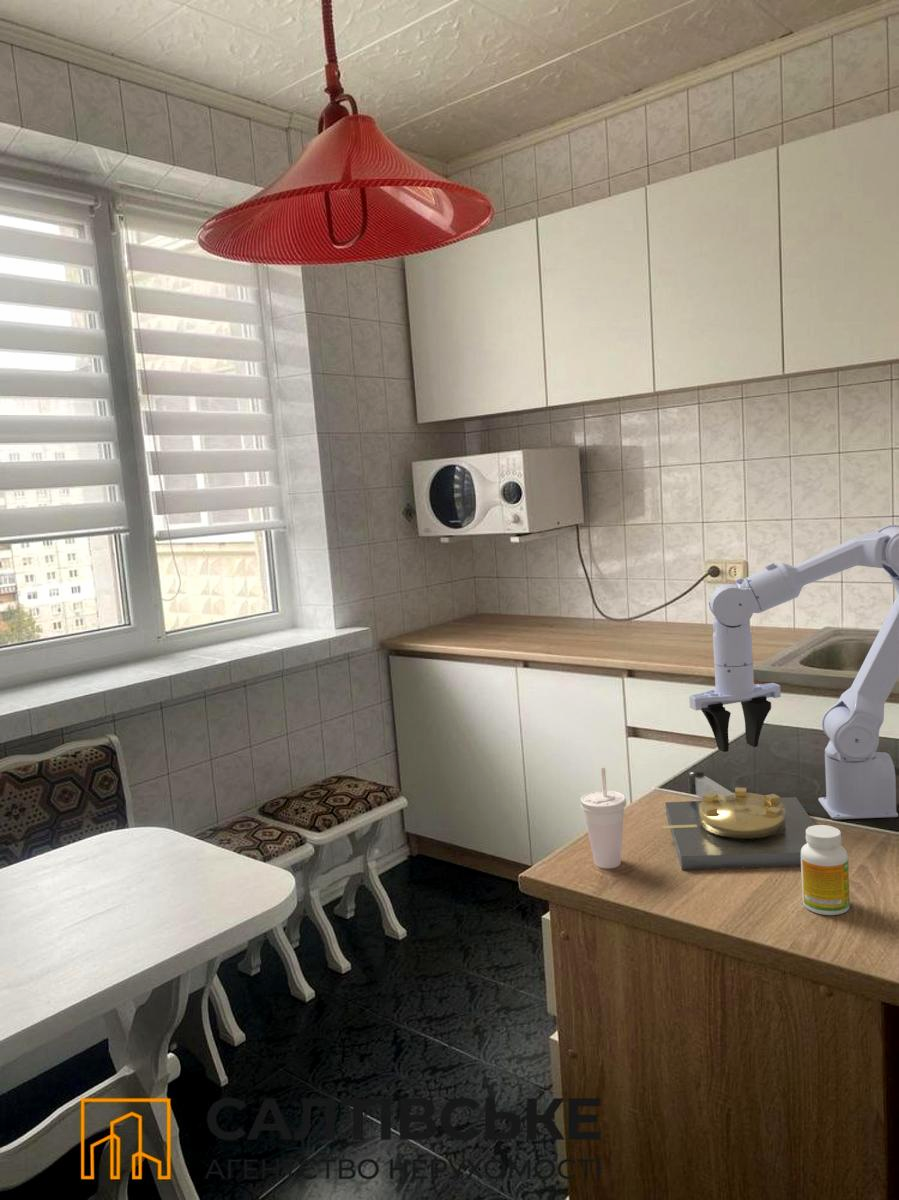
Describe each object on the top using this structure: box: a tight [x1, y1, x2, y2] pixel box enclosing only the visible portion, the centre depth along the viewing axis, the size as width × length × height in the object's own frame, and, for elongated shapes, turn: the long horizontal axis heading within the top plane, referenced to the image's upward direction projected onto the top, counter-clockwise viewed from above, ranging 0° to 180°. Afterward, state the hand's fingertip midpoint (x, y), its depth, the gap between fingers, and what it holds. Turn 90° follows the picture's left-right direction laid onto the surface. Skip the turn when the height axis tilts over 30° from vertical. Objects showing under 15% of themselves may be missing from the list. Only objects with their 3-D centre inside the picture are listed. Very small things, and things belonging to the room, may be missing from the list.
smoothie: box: [580, 766, 627, 870], centre depth 127 cm, size 6×6×14 cm
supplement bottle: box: [800, 824, 851, 916], centre depth 110 cm, size 5×5×10 cm
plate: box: [661, 796, 816, 871], centre depth 132 cm, size 22×20×2 cm
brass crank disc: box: [687, 768, 786, 838], centre depth 136 cm, size 21×12×3 cm, turn 13°
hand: (737, 747), depth 140 cm, fingers open, 4 cm apart
